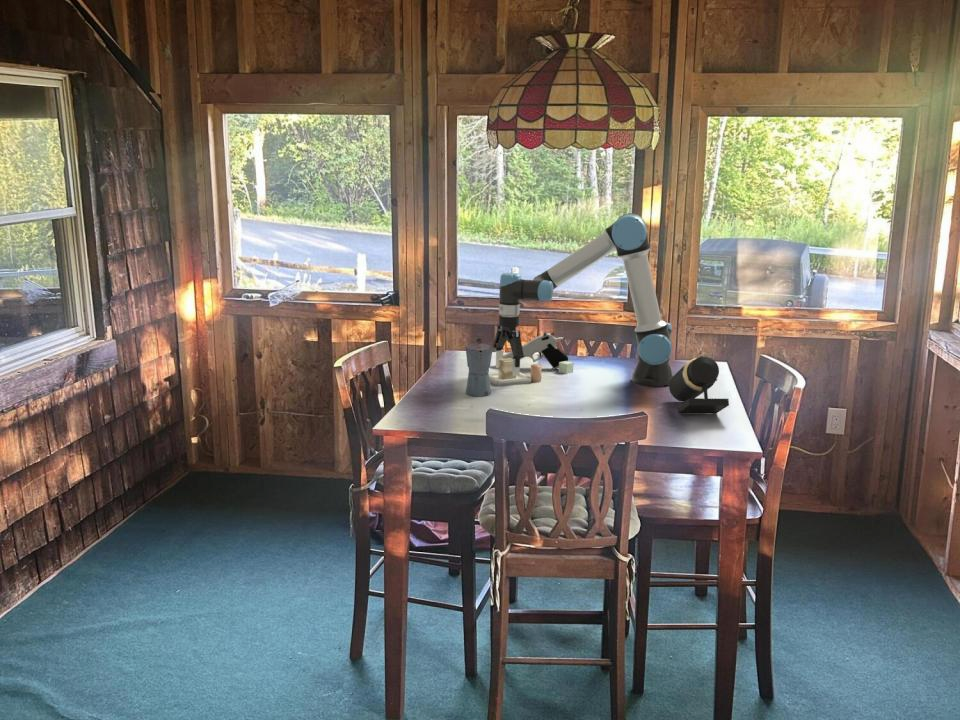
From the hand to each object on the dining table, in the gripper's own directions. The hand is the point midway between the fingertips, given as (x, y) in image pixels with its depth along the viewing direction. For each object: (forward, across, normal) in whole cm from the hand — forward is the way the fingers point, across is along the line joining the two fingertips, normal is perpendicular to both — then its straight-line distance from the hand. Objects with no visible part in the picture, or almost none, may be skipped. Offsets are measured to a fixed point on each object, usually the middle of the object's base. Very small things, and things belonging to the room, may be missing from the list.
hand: (507, 371), depth 336 cm
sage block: (+4, -4, +28) cm, 29 cm away
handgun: (+4, -15, +19) cm, 24 cm away
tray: (+4, 0, 0) cm, 4 cm away
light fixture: (+4, +58, +41) cm, 71 cm away
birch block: (+3, 0, 0) cm, 3 cm away
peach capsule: (+4, +4, +10) cm, 11 cm away
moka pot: (+4, +12, -18) cm, 22 cm away
